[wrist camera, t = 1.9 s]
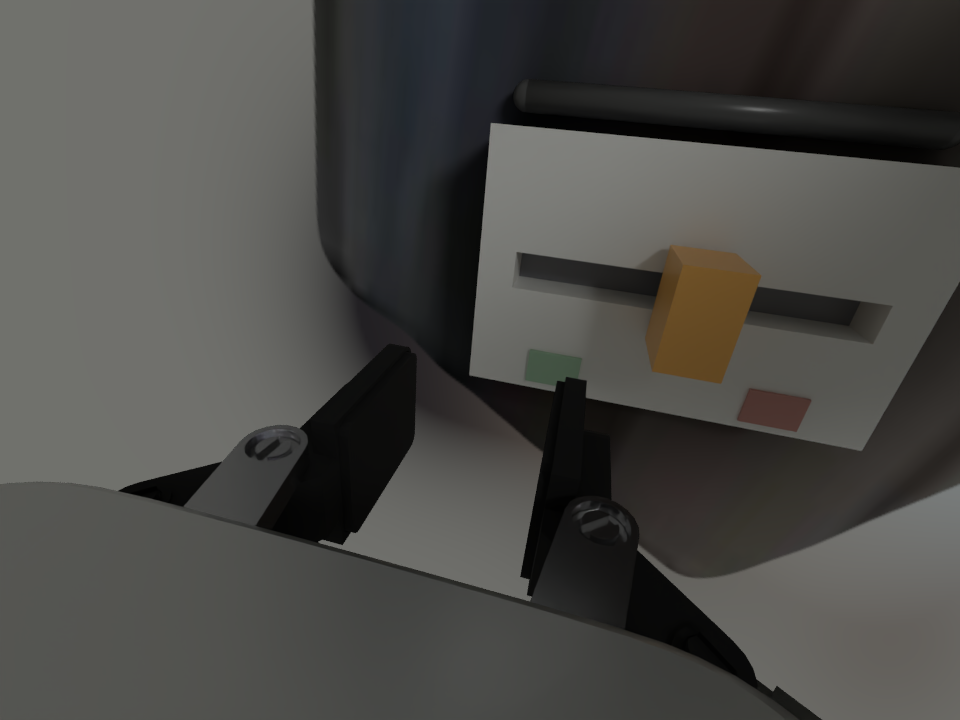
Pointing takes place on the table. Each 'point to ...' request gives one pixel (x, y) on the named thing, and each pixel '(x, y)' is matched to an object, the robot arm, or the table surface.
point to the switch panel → (720, 227)
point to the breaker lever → (699, 312)
